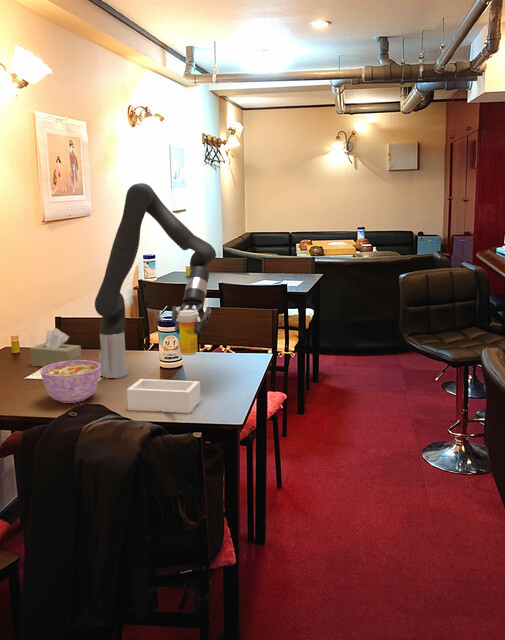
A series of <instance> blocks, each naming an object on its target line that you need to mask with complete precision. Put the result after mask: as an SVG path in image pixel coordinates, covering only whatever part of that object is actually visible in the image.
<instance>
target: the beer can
mask: <svg viewBox="0 0 505 640" xmlns="http://www.w3.org/2000/svg"><path fill="white" fill-rule="evenodd" d="M178 317H179V334H178V335H179V353H181V355H182V356H194V355H196V354H197V352H198V334H195V332H194V330H195V325H196V322H197V319H196V313H195V311H194V310H182V311H181V310H180V311H179V313H178Z"/></svg>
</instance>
